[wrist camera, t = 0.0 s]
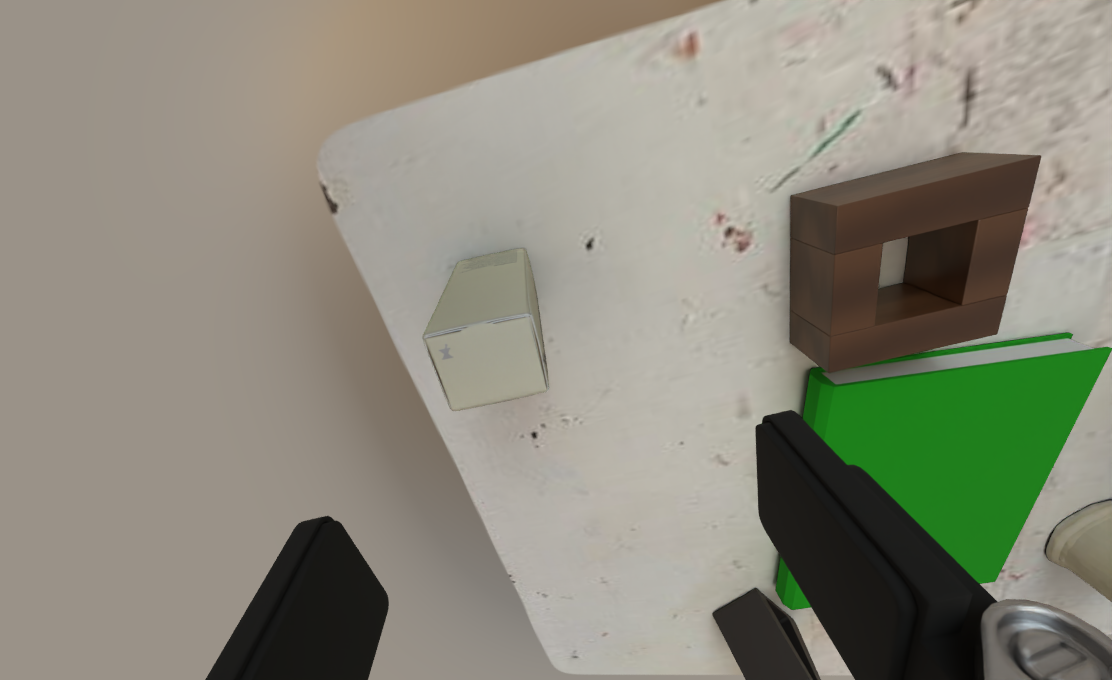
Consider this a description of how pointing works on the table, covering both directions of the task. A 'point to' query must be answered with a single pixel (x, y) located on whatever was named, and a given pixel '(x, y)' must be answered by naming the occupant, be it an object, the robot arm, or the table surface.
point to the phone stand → (764, 640)
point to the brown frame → (932, 259)
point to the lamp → (1086, 546)
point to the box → (488, 333)
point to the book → (956, 437)
